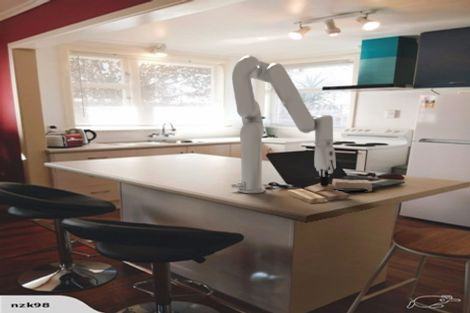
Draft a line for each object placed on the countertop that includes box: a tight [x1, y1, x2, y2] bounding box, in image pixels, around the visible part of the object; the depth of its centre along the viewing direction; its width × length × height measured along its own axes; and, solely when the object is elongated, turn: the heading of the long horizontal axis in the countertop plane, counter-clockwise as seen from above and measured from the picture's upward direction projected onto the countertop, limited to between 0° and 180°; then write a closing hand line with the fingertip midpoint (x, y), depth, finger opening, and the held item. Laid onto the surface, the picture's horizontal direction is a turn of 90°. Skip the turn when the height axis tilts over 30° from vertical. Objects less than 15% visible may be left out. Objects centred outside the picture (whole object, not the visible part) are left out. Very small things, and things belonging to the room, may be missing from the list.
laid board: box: [286, 188, 328, 204], centre depth 147 cm, size 8×18×2 cm, turn 20°
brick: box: [331, 178, 373, 192], centre depth 162 cm, size 17×8×5 cm, turn 85°
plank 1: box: [303, 182, 335, 194], centre depth 154 cm, size 10×9×2 cm
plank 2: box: [316, 190, 350, 200], centre depth 146 cm, size 10×9×2 cm
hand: (324, 185), depth 155 cm, fingers closed
